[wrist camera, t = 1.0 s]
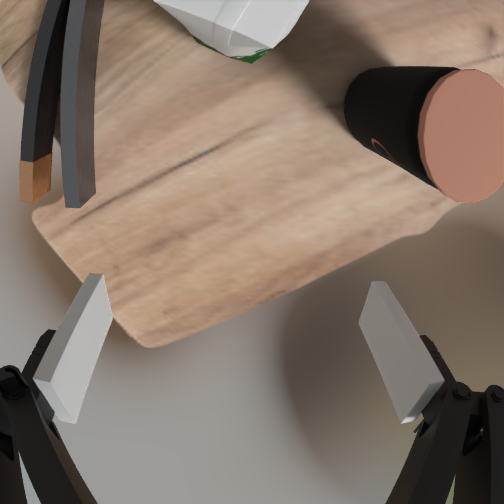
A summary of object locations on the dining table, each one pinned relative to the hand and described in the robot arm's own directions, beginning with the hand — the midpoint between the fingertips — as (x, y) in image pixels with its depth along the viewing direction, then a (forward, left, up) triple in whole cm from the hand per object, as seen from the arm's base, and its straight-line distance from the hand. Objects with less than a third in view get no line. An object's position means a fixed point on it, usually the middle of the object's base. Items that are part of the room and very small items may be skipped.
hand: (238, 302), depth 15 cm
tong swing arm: (-10, -23, -24) cm, 35 cm away
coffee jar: (-10, +17, -25) cm, 32 cm away
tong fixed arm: (-12, -19, -25) cm, 34 cm away
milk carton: (-17, -1, -25) cm, 30 cm away
